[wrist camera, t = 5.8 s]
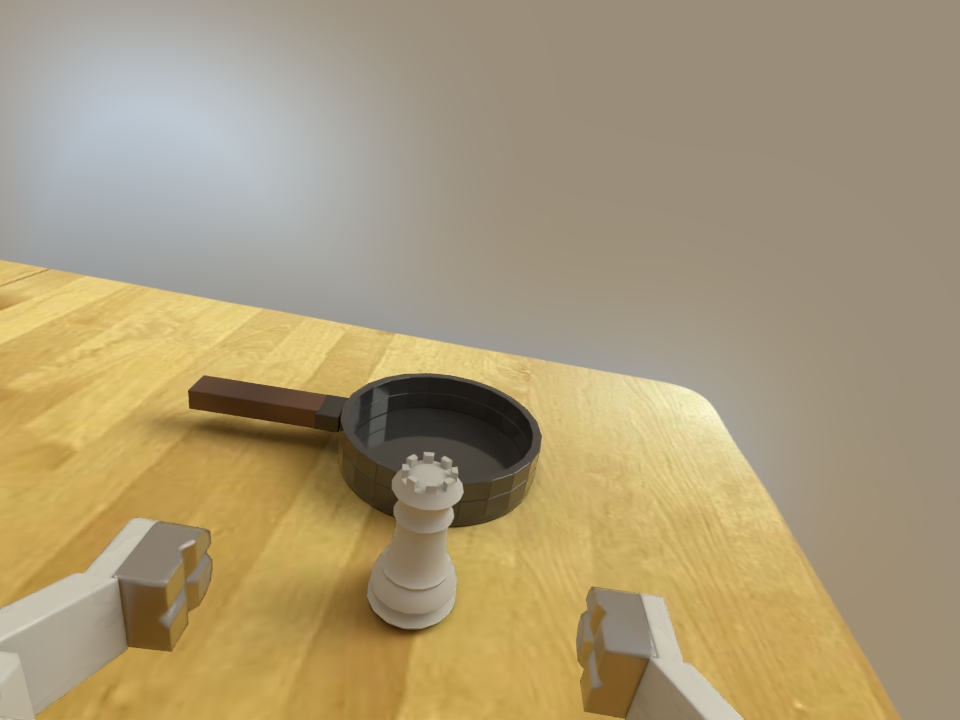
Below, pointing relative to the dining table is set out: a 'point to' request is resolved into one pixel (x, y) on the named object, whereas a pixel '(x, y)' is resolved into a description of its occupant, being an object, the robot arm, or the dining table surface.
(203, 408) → the pan handle
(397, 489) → the rook chess piece
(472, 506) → the pan
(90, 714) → the dining table surface
